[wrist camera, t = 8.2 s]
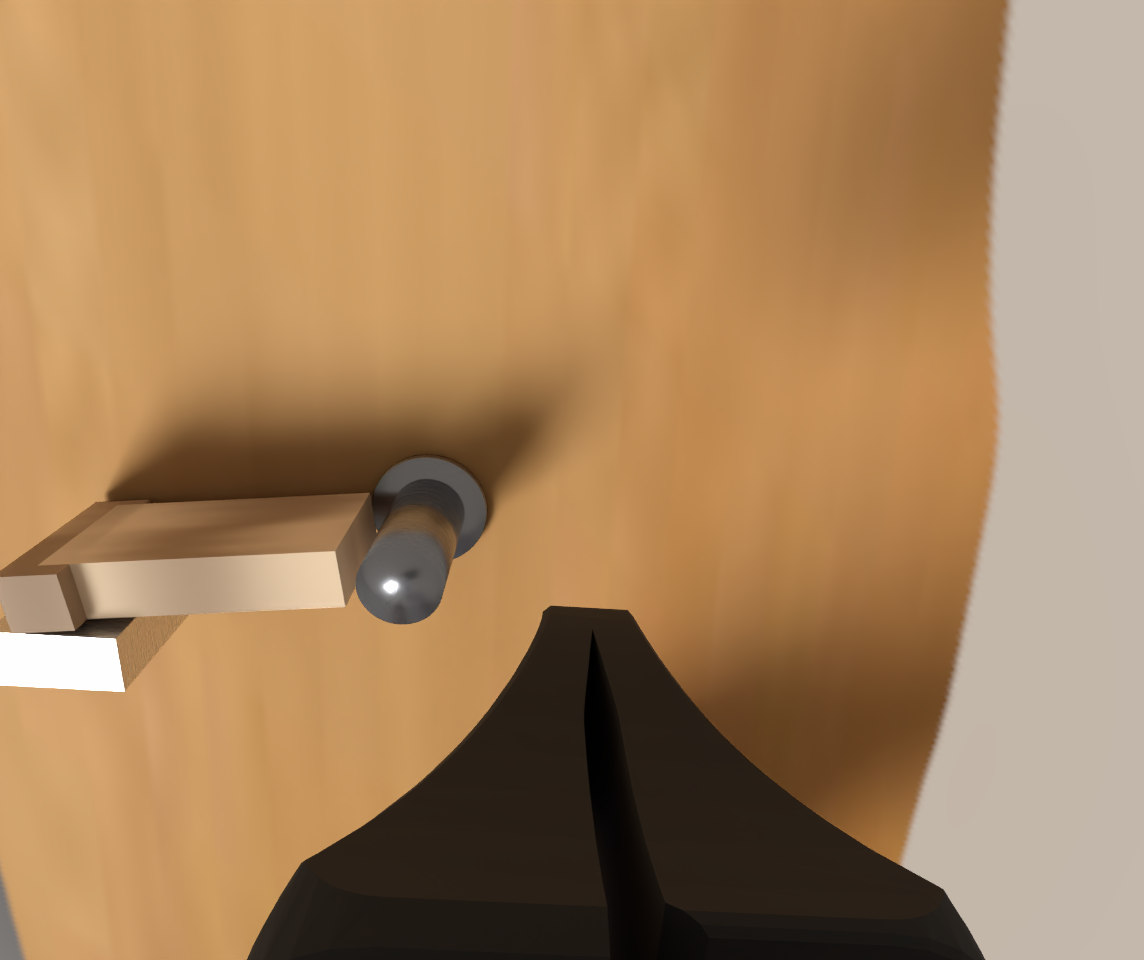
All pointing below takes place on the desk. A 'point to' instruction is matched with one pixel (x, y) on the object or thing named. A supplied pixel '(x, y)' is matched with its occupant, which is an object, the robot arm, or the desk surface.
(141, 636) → the white-faced wooden block
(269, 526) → the light wooden bar
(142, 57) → the desk surface
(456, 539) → the pivot post
